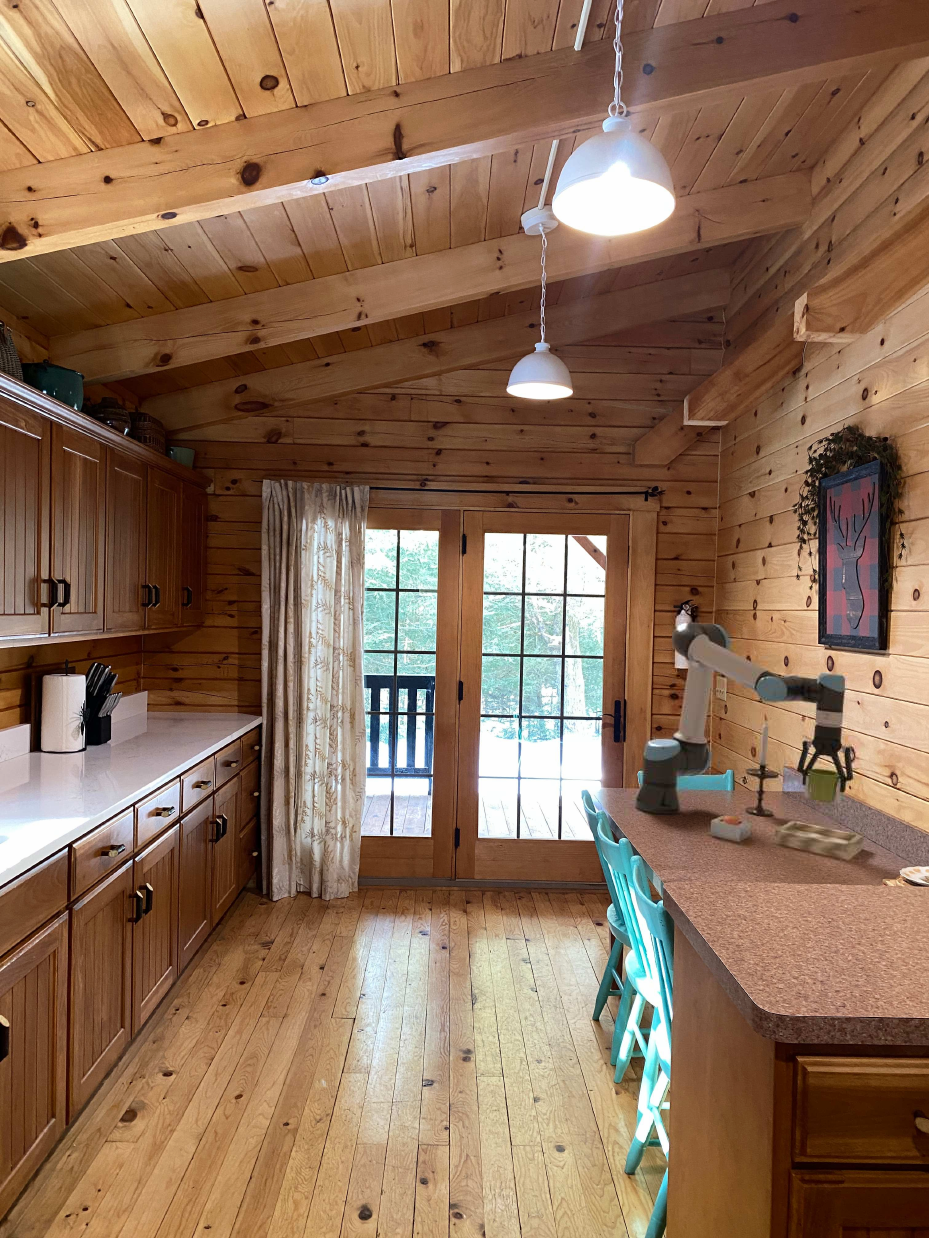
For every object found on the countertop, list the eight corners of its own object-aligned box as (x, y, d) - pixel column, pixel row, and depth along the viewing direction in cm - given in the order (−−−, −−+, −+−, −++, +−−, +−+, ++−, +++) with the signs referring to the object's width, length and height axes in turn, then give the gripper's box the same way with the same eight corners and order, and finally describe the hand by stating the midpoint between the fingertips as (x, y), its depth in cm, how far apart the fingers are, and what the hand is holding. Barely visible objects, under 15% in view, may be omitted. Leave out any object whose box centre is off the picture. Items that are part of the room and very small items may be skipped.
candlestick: (746, 815, 287) (754, 713, 287) (739, 807, 298) (747, 709, 297) (779, 818, 286) (787, 716, 285) (771, 810, 297) (779, 712, 296)
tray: (774, 843, 254) (775, 829, 254) (791, 833, 267) (792, 820, 267) (848, 860, 241) (849, 846, 241) (862, 848, 255) (863, 835, 255)
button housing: (710, 835, 258) (711, 820, 258) (720, 829, 265) (722, 815, 265) (739, 841, 253) (740, 827, 252) (749, 836, 260) (750, 822, 260)
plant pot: (842, 805, 248) (845, 776, 248) (809, 802, 250) (811, 773, 250) (835, 798, 258) (837, 770, 257) (803, 795, 259) (805, 767, 259)
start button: (719, 826, 258) (720, 817, 258) (725, 824, 262) (726, 814, 262) (735, 830, 255) (736, 820, 255) (741, 827, 259) (742, 818, 259)
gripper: (788, 720, 257) (783, 794, 257) (863, 731, 244) (857, 808, 245) (796, 719, 263) (790, 791, 263) (869, 729, 250) (863, 804, 250)
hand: (822, 799), depth 254 cm, fingers closed on plant pot, 8 cm apart
